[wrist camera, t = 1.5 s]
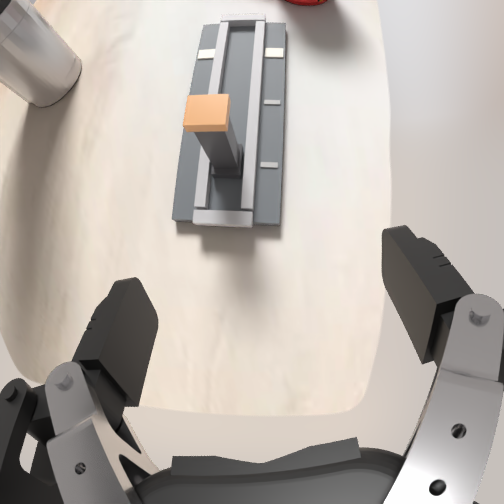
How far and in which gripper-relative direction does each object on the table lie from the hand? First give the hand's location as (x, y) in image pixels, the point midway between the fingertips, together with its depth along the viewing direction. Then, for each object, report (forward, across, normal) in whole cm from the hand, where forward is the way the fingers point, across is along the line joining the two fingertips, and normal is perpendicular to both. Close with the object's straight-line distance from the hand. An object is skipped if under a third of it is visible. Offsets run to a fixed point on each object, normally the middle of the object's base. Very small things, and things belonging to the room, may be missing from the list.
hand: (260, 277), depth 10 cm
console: (+27, +1, -2) cm, 27 cm away
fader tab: (+21, +3, +2) cm, 21 cm away
